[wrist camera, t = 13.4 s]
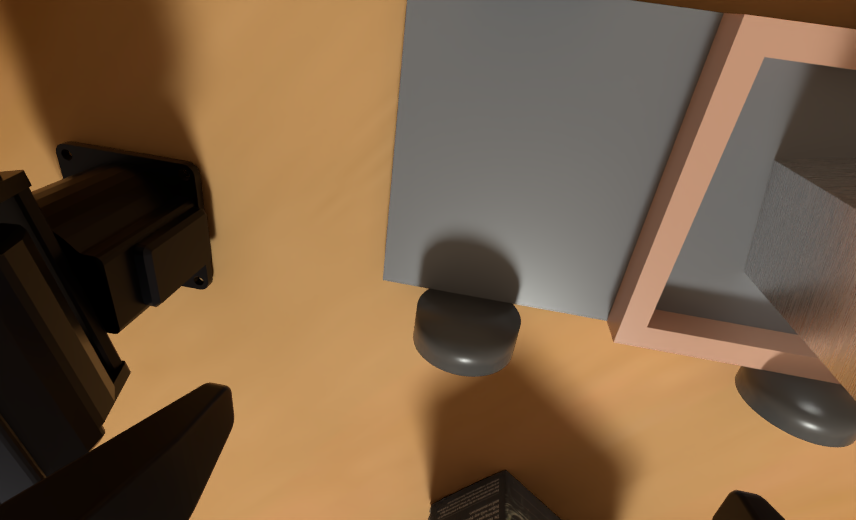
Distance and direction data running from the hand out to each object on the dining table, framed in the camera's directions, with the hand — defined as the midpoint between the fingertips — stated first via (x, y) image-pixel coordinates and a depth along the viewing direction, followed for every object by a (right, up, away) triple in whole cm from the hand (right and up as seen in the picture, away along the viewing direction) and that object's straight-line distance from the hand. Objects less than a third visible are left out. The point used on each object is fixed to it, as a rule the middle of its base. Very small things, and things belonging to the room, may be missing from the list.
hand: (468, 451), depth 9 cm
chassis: (+9, +6, +10) cm, 15 cm away
